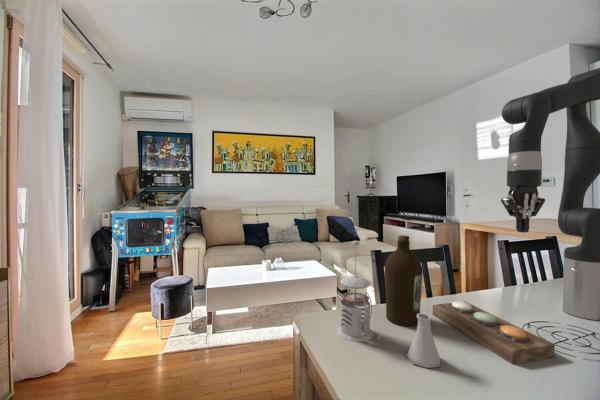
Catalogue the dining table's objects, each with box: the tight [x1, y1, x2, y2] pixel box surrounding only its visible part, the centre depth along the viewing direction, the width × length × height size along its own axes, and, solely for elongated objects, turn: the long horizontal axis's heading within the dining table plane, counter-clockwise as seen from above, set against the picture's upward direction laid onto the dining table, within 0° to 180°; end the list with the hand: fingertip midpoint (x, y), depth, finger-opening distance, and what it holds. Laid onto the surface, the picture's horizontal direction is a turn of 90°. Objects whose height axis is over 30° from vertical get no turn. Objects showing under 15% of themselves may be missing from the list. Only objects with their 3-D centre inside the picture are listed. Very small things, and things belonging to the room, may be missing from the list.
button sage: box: [472, 312, 498, 327], centre depth 77 cm, size 5×5×4 cm
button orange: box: [499, 325, 528, 343], centre depth 69 cm, size 5×5×4 cm
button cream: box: [451, 300, 473, 314], centre depth 84 cm, size 5×5×4 cm
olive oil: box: [384, 234, 424, 327], centre depth 84 cm, size 11×11×25 cm
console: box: [432, 301, 556, 365], centre depth 77 cm, size 12×26×3 cm, turn 13°
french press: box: [336, 240, 374, 343], centre depth 76 cm, size 10×12×25 cm
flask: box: [406, 312, 441, 369], centre depth 64 cm, size 7×7×10 cm
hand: (522, 231), depth 78 cm, fingers closed
